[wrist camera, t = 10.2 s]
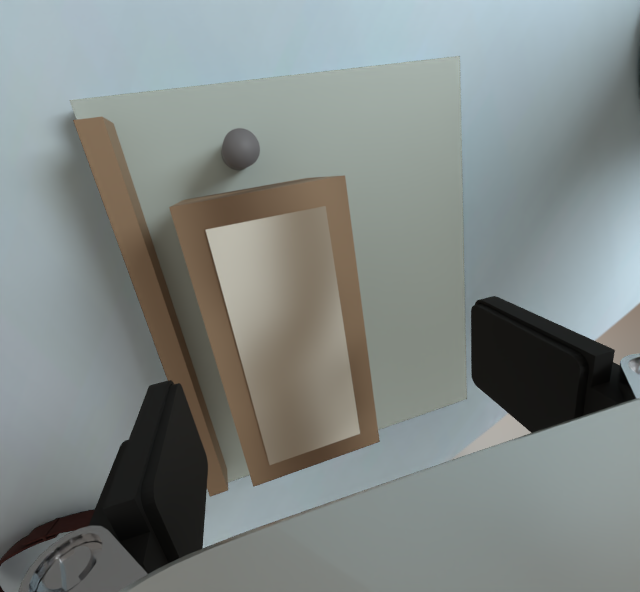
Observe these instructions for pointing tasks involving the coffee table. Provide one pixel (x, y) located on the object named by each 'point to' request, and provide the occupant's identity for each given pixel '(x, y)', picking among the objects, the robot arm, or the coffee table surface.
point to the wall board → (287, 165)
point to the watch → (50, 532)
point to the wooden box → (283, 319)
